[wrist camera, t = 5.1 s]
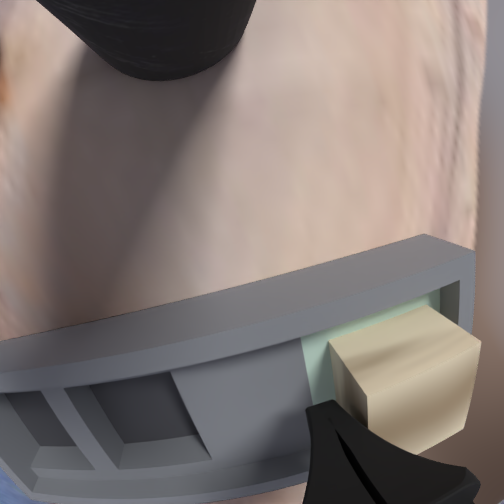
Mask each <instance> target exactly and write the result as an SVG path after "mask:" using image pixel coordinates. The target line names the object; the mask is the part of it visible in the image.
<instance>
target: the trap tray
mask: <svg viewBox="0 0 504 504" xmlns="http://www.w3.org/2000/svg"><path fill="white" fill-rule="evenodd" d="M474 296H475V251H473V250H471V249H468V248H465V247H462V246H459V245H456V244H454V243H451V242H448V241H445V240H442V239H439V238H436V237H433V236H430V235H427V234H422V235H418V236H415V237H412V238H408V239H405V240H402V241H398V242H395V243H392V244H388V245H385V246H382V247H378V248H375V249H371V250H368V251H364V252H361V253H357V254H354V255H350V256H347V257H343V258H340V259H336V260H333V261H329V262H326V263H322V264H319V265H315V266H311V267H308V268H304V269H300V270H297V271H293V272H289V273H286V274H282V275H278V276H275V277H271V278H267V279H263V280H260V281H256V282H252V283H248V284H244V285H241V286H237V287H233V288H229V289H225V290H221V291H217V292H213V293H210V294H206V295H202V296H198V297H194V298H190V299H186V300H182V301H177V302H173V303H169V304H165V305H161V306H157V307H153V308H149V309H144V310H140V311H136V312H132V313H128V314H123V315H119V316H115V317H110V318H106V319H102V320H97V321H93V322H88V323H84V324H79V325H75V326H70V327H66V328H61V329H56V330H52V331H47V332H42V333H38V334H33V335H28V336H23V337H18V338H13V339H8V340H3V341H0V467H1V468H2V469H3V470H4V472H5V473H6V474H7V475H8V476H9V477H10V478H11V479H12V480H13V482H14V483H15V484H16V485H17V486H18V487H19V488H20V489H21V490H22V491H23V492H24V493H25V494H26V495H27V496H28V497H29V498H30V499H31V500H36V501H43V502H50V503H57V504H200V503H208V502H216V501H223V500H229V499H235V498H240V497H246V496H251V495H256V494H261V493H265V492H270V491H274V490H278V489H282V488H286V487H290V486H294V485H297V484H301V483H304V482H307V481H308V475H309V467H310V453H311V439H310V432H309V427H308V422H307V417H306V412H305V409H306V408H307V407H309V406H313V405H316V404H319V403H322V402H325V401H328V400H331V399H333V400H335V401H336V395H335V387H334V379H333V371H332V364H331V357H330V350H329V343H328V340H330V339H333V338H336V337H339V336H342V335H345V334H348V333H351V332H354V331H357V330H360V329H363V328H366V327H368V326H371V325H374V324H377V323H379V322H382V321H385V320H388V319H390V318H393V317H395V316H398V315H401V314H403V313H406V312H408V311H411V310H413V309H416V308H418V307H421V306H423V305H428V306H429V307H431V308H432V309H434V310H435V311H437V312H438V313H440V314H441V315H443V316H444V317H446V318H447V319H449V320H450V321H452V322H453V323H455V324H456V325H458V326H459V327H461V328H462V329H464V330H465V331H467V332H468V333H470V334H471V335H472V324H473V312H474Z"/></svg>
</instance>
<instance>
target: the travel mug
mask: <svg viewBox="0 0 504 504" xmlns="http://www.w3.org/2000/svg"><path fill="white" fill-rule="evenodd" d="M36 1H38V2H39V3H40V4H41V5H42V6H43V7H45V8H46V9H47V10H48V11H49V12H50V13H52V14H53V15H54V16H55V17H56V18H57V19H59V20H60V21H61V22H62V23H63V24H64V25H66V26H67V27H68V28H69V29H70V30H71V31H72V32H74V33H75V34H76V35H77V36H78V37H79V38H80V39H81V40H83V41H84V42H85V43H86V44H87V45H88V46H89V47H90V48H92V49H93V50H94V51H95V52H96V53H97V54H98V55H99V56H101V57H102V58H103V59H104V60H105V61H106V62H108V63H109V64H110V65H111V66H113V67H114V68H115V69H117V70H119V71H120V72H122V73H124V74H127V75H129V76H132V77H135V78H139V79H144V80H152V81H164V80H174V79H179V78H184V77H187V76H190V75H194V74H196V73H198V72H201V71H203V70H205V69H207V68H209V67H211V66H212V65H214V64H215V63H217V62H218V61H220V60H221V59H222V58H224V57H225V56H226V55H227V54H228V53H229V52H230V51H231V50H232V49H233V48H234V47H235V46H236V44H237V43H238V41H239V40H240V38H241V37H242V34H243V32H244V30H245V28H246V26H247V24H248V21H249V19H250V16H251V13H252V11H253V8H254V5H255V2H256V0H36Z"/></svg>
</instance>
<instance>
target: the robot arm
mask: <svg viewBox="0 0 504 504" xmlns="http://www.w3.org/2000/svg"><path fill="white" fill-rule="evenodd" d="M305 412H306V417H307V422H308V427H309V432H310V439H311V453H310V467H309V475H308V481H307V486H306V491H305V496H304V500H303V503H302V504H474V503H473V499H474V498H475V496H476V494H477V493H478V491H479V488H480V485H481V484H480V481H479V480H478V479H477V478H476V476H475V475H474V474H473V473H471V472H470V471H469V470H468V469H467V468H466V467H461V466H454V465H449V464H444V463H440V462H436V461H433V460H429V459H427V458H424V457H421V456H418V455H415V454H412V453H410V452H408V451H406V450H403V449H401V448H399V447H397V446H395V445H393V444H391V443H390V442H388V441H386V440H384V439H383V438H381V437H379V436H378V435H376V434H375V433H373V432H372V431H370V430H369V429H368V428H366V427H365V426H364V425H362V424H361V423H360V422H358V421H357V420H356V419H355V418H353V417H352V416H351V415H350V414H349V413H348V412H346V411H345V410H344V409H343V408H342V407H341V406H340V405H339V404H338V403H337V402H336V401H335V400H333V399H331V400H328V401H325V402H322V403H319V404H316V405H313V406H309V407H307V408H306V409H305ZM499 504H504V500H503V501H501V502H500V503H499Z"/></svg>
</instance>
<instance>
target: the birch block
mask: <svg viewBox="0 0 504 504" xmlns="http://www.w3.org/2000/svg"><path fill="white" fill-rule="evenodd" d="M328 343H329V350H330V357H331V364H332V371H333V379H334V387H335V395H336V402H337V403H338V404H339V405H340V406H341V407H342V408H343V409H344V410H345V411H346V412H348V413H349V414H350V415H351V416H352V417H353V418H355V419H356V420H357V421H358V422H360V423H361V424H362V425H364V426H365V427H366V428H368V429H369V430H370V431H372V432H373V433H375V434H376V435H378V436H379V437H381V438H383V439H384V440H386V441H388V442H390V443H391V444H393V445H395V446H397V447H399V448H401V449H403V450H406V451H408V452H410V453H412V454H415V455H417V454H419V453H420V452H422V451H424V450H426V449H428V448H430V447H432V446H434V445H436V444H437V443H439V442H441V441H443V440H445V439H446V438H448V437H450V436H451V435H453V434H455V433H457V432H458V431H460V430H462V429H463V428H464V425H465V421H466V417H467V413H468V409H469V405H470V401H471V396H472V392H473V387H474V382H475V377H476V371H477V366H478V360H479V354H480V347H481V341H479V340H478V339H477V338H475V337H474V336H472V335H471V334H470V333H468V332H467V331H465V330H464V329H462V328H461V327H459V326H458V325H456V324H455V323H453V322H452V321H450V320H449V319H447V318H446V317H444V316H443V315H441V314H440V313H438V312H437V311H435V310H434V309H432V308H431V307H429V306H428V305H423V306H421V307H418V308H416V309H413V310H411V311H408V312H406V313H403V314H401V315H398V316H395V317H393V318H390V319H388V320H385V321H382V322H379V323H377V324H374V325H371V326H368V327H366V328H363V329H360V330H357V331H354V332H351V333H348V334H345V335H342V336H339V337H336V338H333V339H330V340H328Z"/></svg>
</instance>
